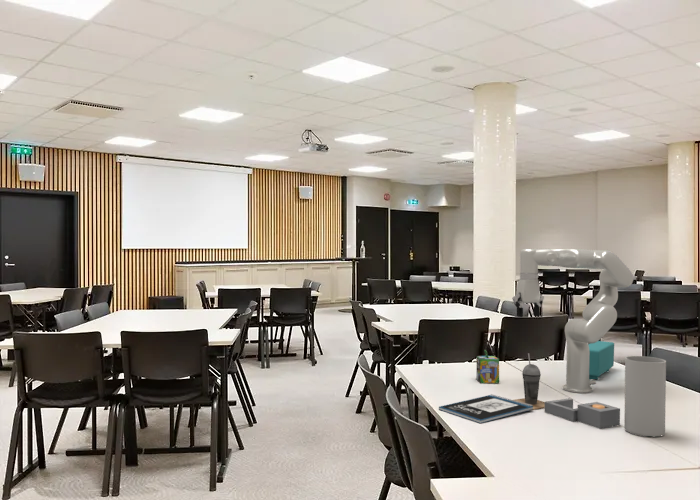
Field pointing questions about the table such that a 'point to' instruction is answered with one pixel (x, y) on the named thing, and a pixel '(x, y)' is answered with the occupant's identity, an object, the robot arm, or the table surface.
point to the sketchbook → (486, 408)
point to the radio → (600, 358)
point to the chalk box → (487, 369)
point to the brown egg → (598, 406)
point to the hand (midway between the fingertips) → (528, 316)
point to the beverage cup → (531, 382)
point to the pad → (535, 406)
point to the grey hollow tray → (584, 413)
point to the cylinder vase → (645, 395)
